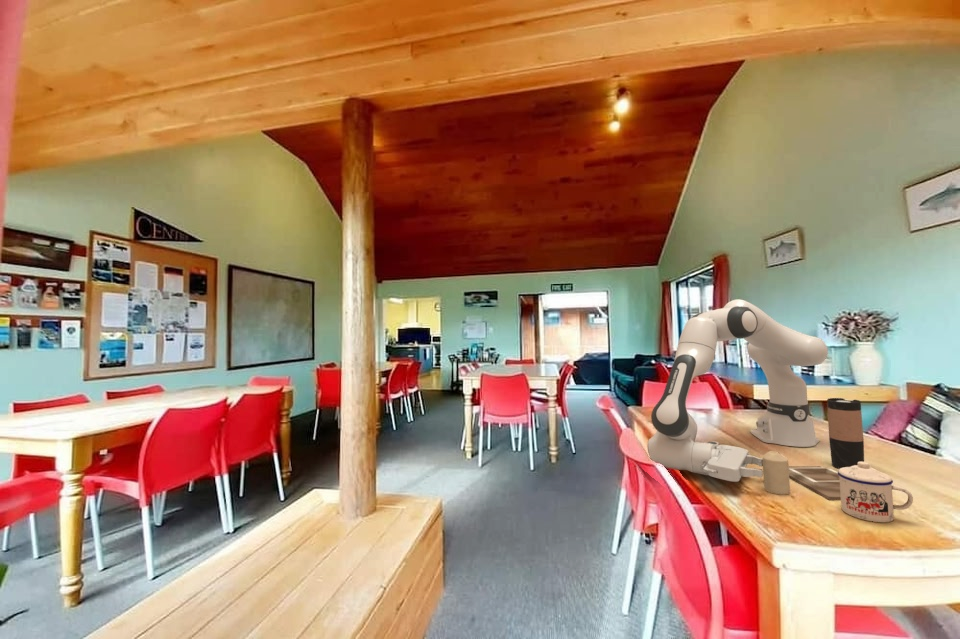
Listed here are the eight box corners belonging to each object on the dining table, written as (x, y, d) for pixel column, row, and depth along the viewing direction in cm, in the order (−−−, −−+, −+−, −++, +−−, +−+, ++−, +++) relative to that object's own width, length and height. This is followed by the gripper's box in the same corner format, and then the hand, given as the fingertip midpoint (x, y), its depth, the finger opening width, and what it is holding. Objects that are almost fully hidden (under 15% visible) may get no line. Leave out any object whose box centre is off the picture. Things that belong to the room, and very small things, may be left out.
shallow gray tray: (773, 469, 121) (772, 462, 121) (819, 468, 119) (819, 462, 120) (829, 500, 99) (828, 492, 99) (886, 500, 98) (886, 491, 98)
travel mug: (839, 471, 117) (834, 402, 118) (825, 462, 124) (821, 397, 125) (872, 472, 115) (867, 402, 115) (856, 463, 122) (851, 398, 123)
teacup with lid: (841, 516, 91) (838, 464, 91) (838, 502, 98) (835, 454, 98) (919, 531, 83) (915, 475, 83) (910, 514, 90) (906, 462, 90)
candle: (794, 495, 102) (792, 456, 103) (770, 494, 104) (768, 455, 104) (783, 486, 108) (780, 449, 108) (760, 486, 109) (758, 449, 109)
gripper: (697, 457, 109) (759, 467, 100) (713, 439, 124) (768, 446, 115) (698, 481, 109) (760, 493, 100) (714, 460, 124) (769, 469, 115)
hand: (764, 468), depth 107 cm, fingers open, 8 cm apart
